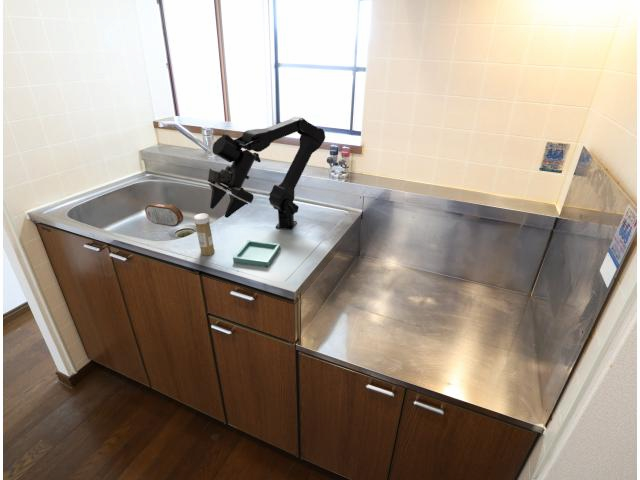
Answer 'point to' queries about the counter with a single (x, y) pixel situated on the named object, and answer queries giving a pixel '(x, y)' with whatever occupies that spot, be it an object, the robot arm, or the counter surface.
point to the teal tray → (257, 253)
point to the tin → (164, 214)
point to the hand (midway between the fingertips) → (218, 212)
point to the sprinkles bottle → (204, 234)
